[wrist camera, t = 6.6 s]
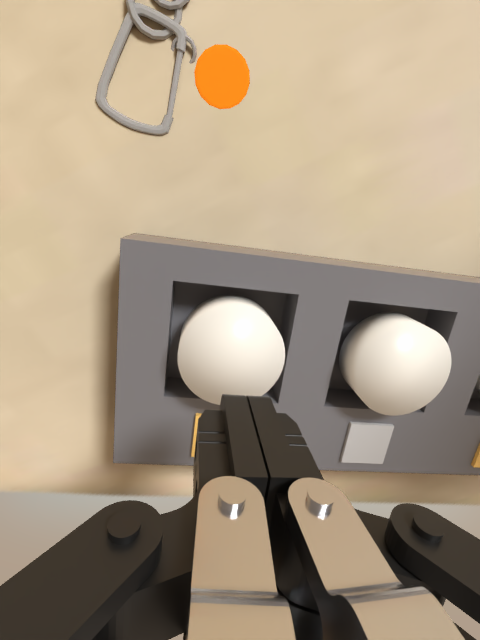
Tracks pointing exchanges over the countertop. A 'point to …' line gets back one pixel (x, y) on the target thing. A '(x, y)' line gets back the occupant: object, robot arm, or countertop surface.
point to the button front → (229, 349)
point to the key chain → (178, 65)
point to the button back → (478, 385)
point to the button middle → (394, 363)
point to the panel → (293, 353)
